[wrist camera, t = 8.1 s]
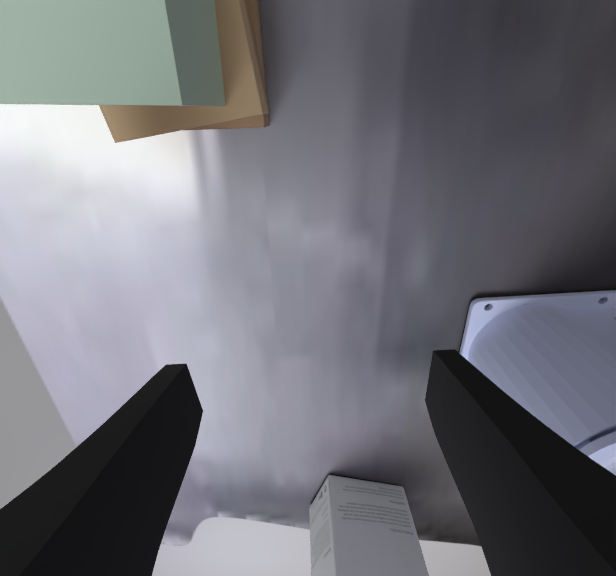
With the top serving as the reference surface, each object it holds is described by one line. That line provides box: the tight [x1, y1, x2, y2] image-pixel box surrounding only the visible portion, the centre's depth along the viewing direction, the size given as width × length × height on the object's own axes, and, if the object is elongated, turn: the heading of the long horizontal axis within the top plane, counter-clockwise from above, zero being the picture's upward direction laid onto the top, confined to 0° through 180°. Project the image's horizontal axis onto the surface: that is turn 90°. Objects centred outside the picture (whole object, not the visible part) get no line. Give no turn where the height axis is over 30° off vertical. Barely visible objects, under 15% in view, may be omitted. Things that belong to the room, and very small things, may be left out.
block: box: [0, 0, 226, 106], centre depth 8 cm, size 4×4×4 cm
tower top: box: [99, 0, 270, 143], centre depth 11 cm, size 6×6×2 cm
